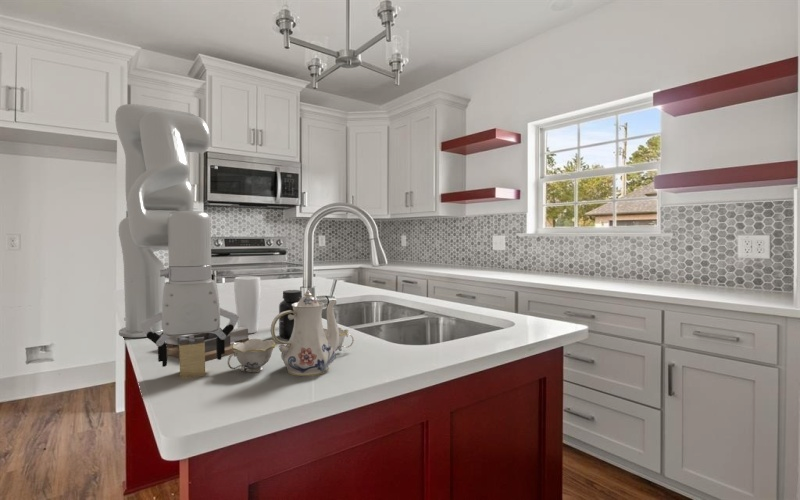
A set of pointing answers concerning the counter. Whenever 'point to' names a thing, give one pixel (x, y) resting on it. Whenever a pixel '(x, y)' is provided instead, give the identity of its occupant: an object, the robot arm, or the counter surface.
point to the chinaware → (297, 341)
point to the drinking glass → (248, 301)
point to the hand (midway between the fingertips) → (192, 361)
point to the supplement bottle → (286, 305)
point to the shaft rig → (209, 342)
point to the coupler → (192, 357)
